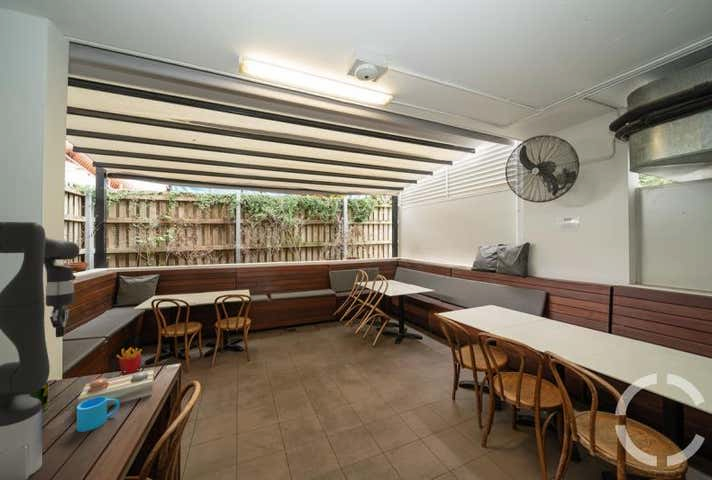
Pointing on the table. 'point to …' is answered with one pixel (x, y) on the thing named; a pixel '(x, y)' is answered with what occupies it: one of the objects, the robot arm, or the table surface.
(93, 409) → the mug
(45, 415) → the table surface
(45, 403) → the beer can
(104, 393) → the plug console
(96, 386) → the terracotta plug
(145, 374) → the grey plug
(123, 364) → the french fries
